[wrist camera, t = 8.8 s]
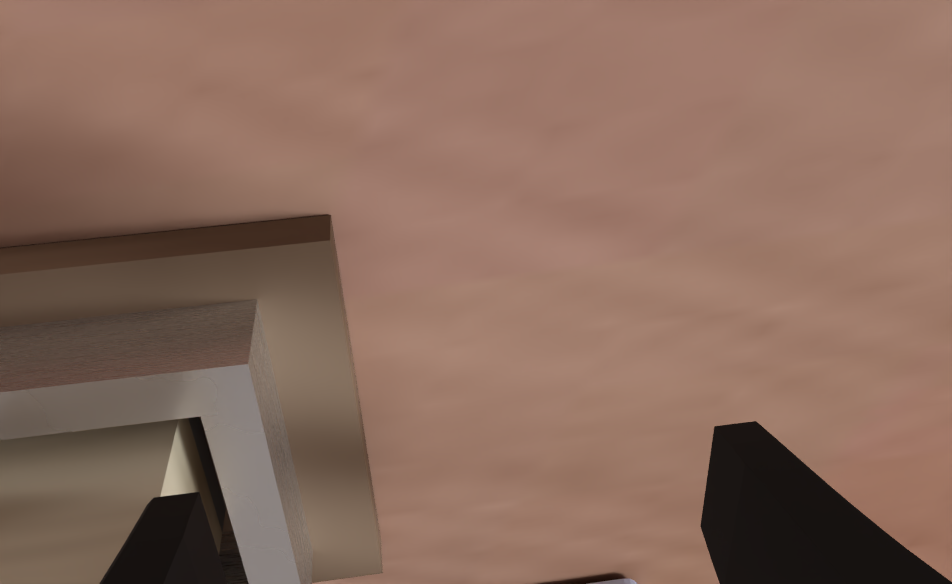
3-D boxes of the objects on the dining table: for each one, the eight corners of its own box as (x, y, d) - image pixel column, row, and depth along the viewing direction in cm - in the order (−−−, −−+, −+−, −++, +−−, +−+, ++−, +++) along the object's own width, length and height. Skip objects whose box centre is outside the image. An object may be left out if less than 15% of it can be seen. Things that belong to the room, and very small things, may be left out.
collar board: (380, 540, 26) (386, 646, 23) (-38, 596, 25) (-89, 714, 22) (330, 214, 20) (328, 300, 17) (-224, 270, 19) (-330, 372, 16)
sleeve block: (225, 509, 23) (194, 727, 18) (52, 531, 22) (-30, 760, 17) (188, 378, 20) (139, 588, 15) (-7, 400, 20) (-122, 623, 15)
